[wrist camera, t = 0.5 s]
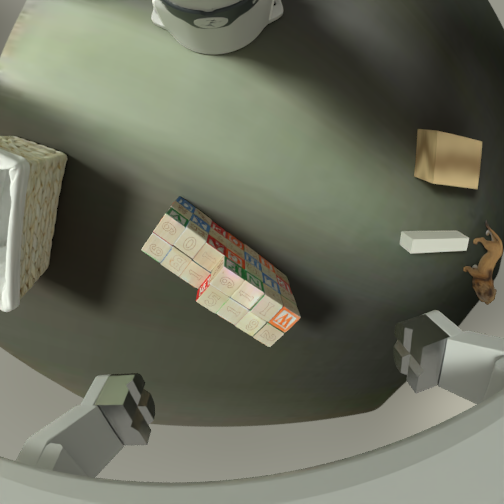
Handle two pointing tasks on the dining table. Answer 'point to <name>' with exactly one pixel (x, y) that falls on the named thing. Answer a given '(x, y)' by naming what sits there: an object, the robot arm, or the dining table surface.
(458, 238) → the fence board
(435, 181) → the oak block
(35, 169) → the storage basket
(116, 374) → the robot arm
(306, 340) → the dining table surface
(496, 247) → the lion figurine
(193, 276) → the stack of blocks
